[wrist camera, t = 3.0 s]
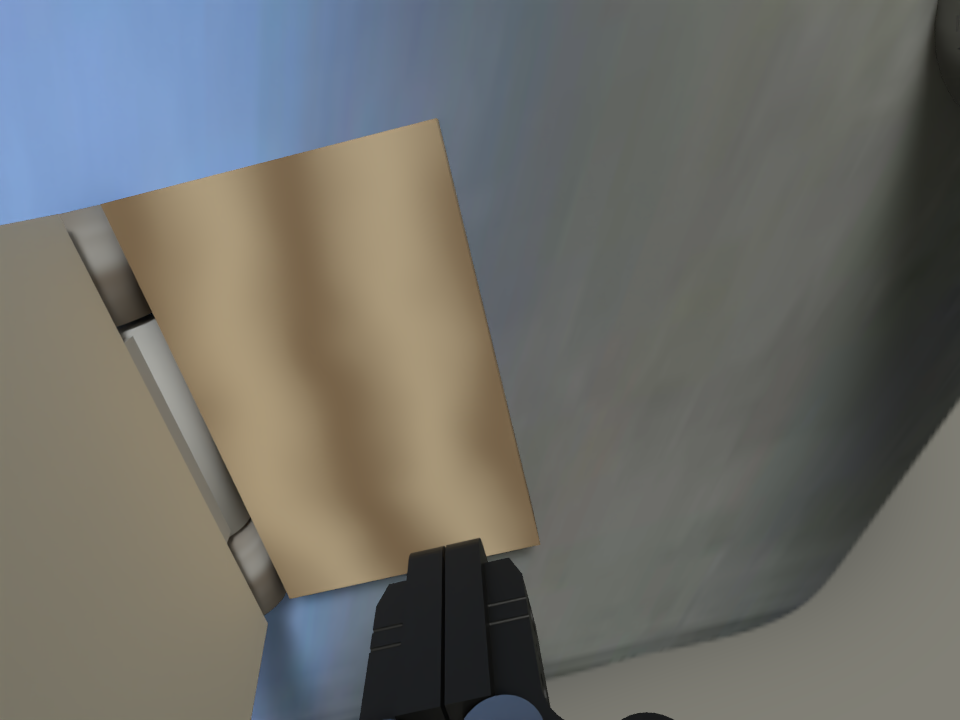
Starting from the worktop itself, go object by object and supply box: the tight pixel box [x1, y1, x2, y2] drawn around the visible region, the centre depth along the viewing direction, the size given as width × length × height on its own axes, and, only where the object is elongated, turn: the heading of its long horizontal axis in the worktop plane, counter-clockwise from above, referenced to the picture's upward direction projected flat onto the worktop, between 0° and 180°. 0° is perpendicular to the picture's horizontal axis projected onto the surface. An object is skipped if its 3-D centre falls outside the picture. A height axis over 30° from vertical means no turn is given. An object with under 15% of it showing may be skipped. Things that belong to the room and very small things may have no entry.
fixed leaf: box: [58, 118, 540, 615], centre depth 23 cm, size 15×18×3 cm
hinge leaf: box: [0, 214, 268, 720], centre depth 17 cm, size 16×18×3 cm
